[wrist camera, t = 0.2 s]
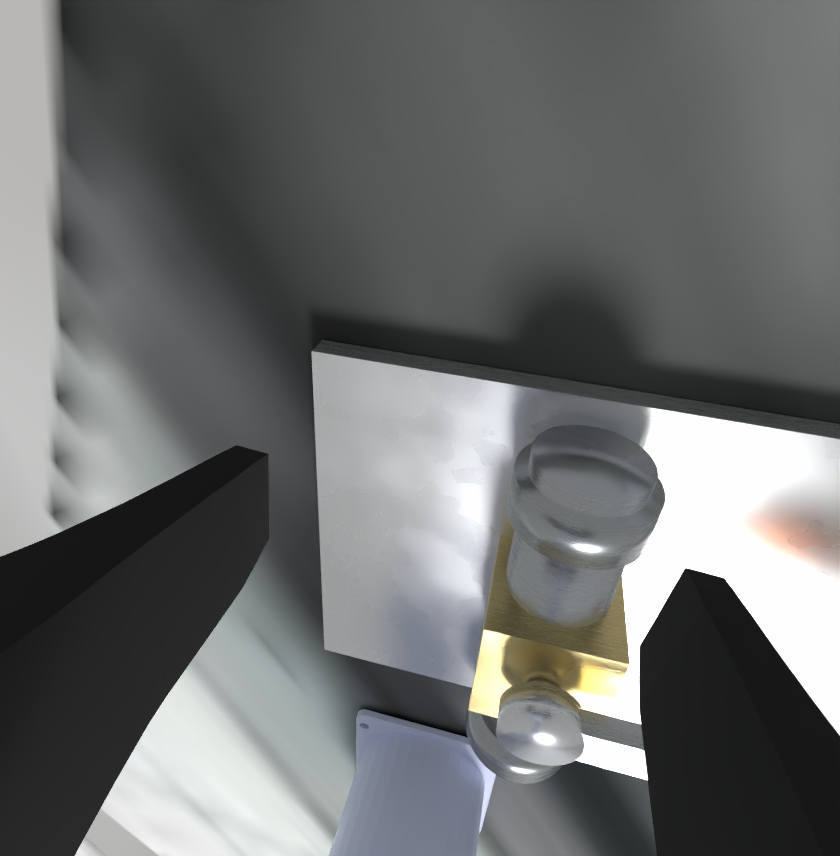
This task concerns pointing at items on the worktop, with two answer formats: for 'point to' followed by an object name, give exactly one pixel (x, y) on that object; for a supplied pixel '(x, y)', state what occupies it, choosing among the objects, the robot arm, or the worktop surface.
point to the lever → (566, 731)
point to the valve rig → (559, 528)
